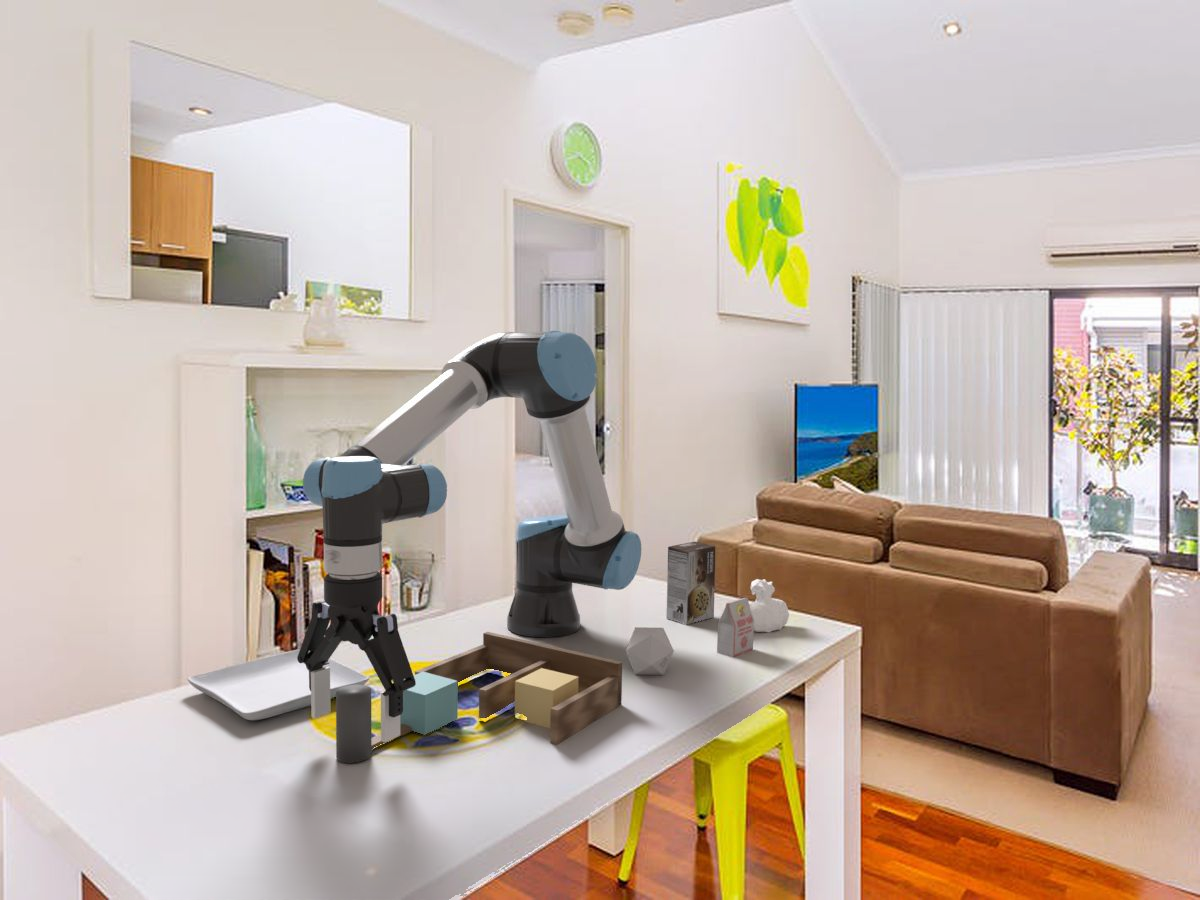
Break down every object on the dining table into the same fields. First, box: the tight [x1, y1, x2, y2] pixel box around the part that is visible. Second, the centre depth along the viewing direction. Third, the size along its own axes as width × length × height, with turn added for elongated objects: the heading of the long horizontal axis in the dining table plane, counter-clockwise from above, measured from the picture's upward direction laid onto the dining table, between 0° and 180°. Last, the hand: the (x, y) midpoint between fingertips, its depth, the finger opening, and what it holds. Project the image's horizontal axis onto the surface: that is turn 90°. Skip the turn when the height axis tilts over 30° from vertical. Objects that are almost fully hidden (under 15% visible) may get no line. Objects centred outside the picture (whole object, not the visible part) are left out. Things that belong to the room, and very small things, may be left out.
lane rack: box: [414, 631, 623, 745], centre depth 136 cm, size 18×28×7 cm, turn 58°
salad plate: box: [187, 648, 370, 721], centre depth 138 cm, size 21×21×3 cm
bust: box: [749, 578, 790, 633], centre depth 181 cm, size 12×8×11 cm
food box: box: [665, 541, 716, 625], centre depth 186 cm, size 9×6×16 cm
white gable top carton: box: [716, 597, 755, 658], centre depth 164 cm, size 4×7×10 cm, turn 137°
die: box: [625, 626, 675, 676], centre depth 152 cm, size 8×9×10 cm
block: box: [514, 668, 578, 729], centre depth 131 cm, size 7×7×6 cm
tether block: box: [335, 672, 459, 763], centre depth 122 cm, size 19×7×9 cm, turn 148°
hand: (354, 726), depth 116 cm, fingers open, 13 cm apart
